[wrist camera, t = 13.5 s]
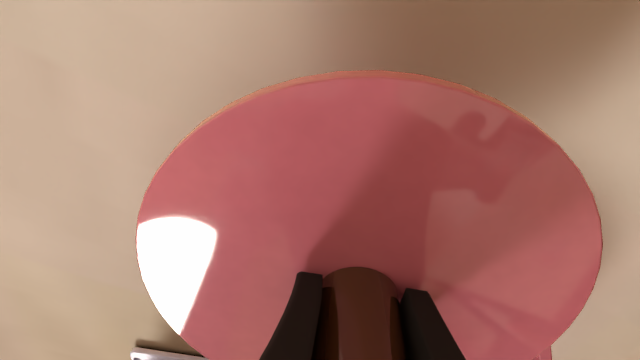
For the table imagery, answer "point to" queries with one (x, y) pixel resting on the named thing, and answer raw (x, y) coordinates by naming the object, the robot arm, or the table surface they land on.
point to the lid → (369, 220)
